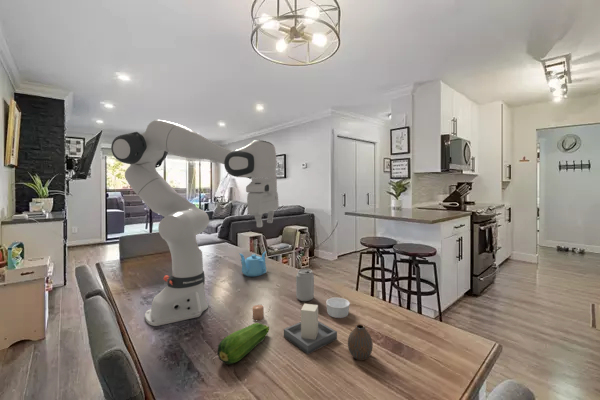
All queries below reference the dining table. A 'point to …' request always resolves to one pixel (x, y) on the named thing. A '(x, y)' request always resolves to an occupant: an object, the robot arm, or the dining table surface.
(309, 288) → the can
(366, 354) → the vase
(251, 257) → the teapot
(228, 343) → the vegetable
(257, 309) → the tan small cylinder
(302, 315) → the cream block
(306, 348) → the tray
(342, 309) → the ramekin
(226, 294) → the dining table surface
